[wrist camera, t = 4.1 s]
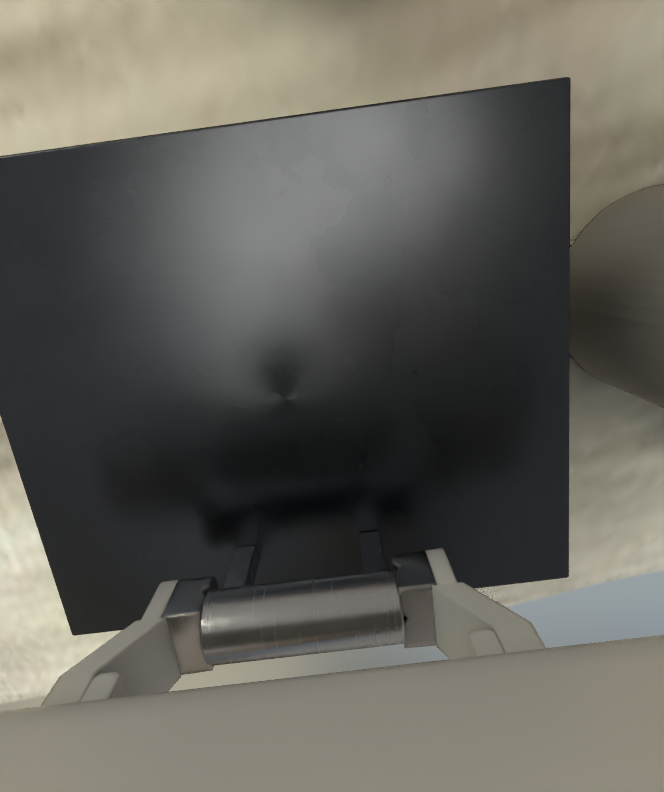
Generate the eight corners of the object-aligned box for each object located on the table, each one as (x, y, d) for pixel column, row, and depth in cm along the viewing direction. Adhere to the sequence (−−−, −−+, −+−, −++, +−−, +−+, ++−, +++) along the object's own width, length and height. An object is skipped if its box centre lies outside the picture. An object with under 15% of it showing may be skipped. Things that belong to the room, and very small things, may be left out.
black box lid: (558, 563, 17) (646, 678, 12) (83, 619, 17) (-7, 752, 12) (556, 86, 13) (687, -13, 8) (-59, 172, 13) (-265, 124, 9)
